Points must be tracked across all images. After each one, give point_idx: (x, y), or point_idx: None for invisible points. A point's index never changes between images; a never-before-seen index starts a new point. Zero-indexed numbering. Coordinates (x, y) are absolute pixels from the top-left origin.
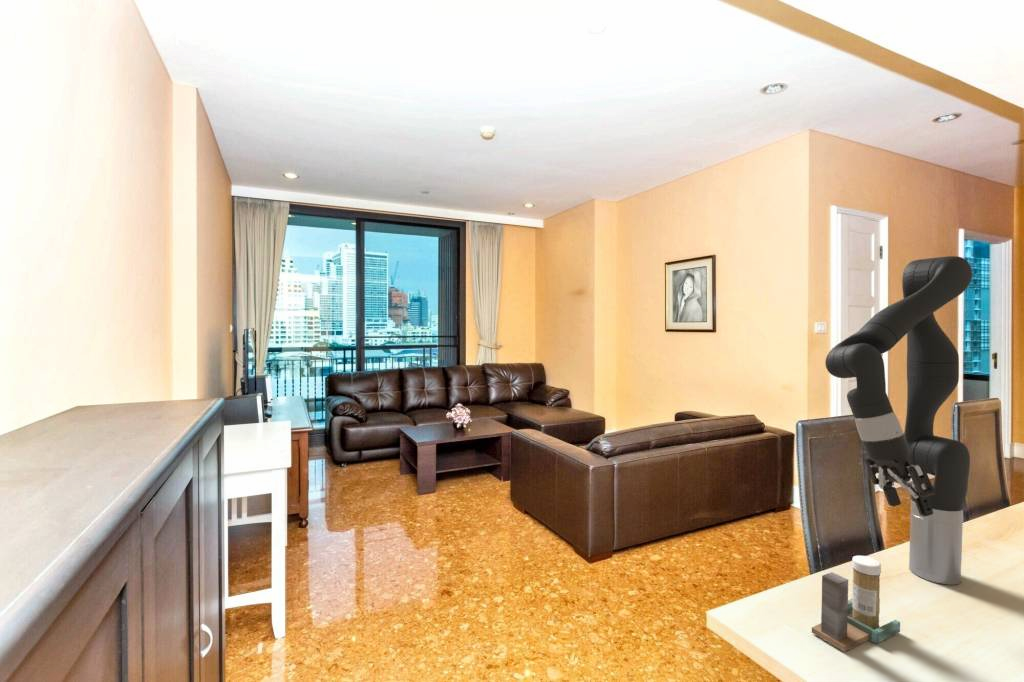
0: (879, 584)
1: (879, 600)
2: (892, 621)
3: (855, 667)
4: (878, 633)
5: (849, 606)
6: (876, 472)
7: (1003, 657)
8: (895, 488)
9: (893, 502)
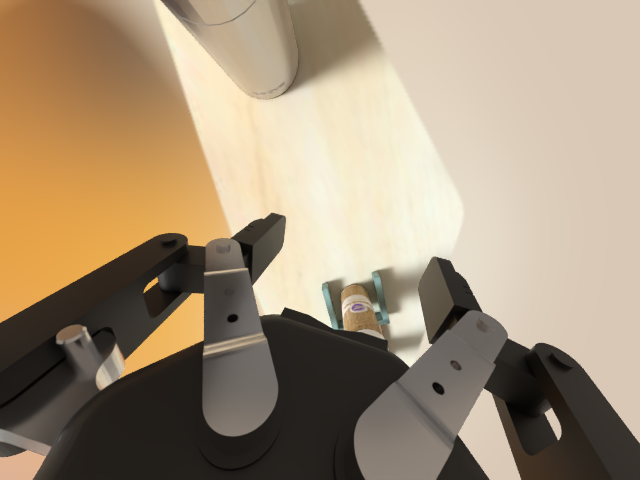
0: (376, 322)
1: (374, 312)
2: (376, 285)
3: (406, 361)
4: (388, 319)
5: (331, 301)
6: (143, 318)
7: (444, 192)
8: (256, 243)
9: (279, 243)
